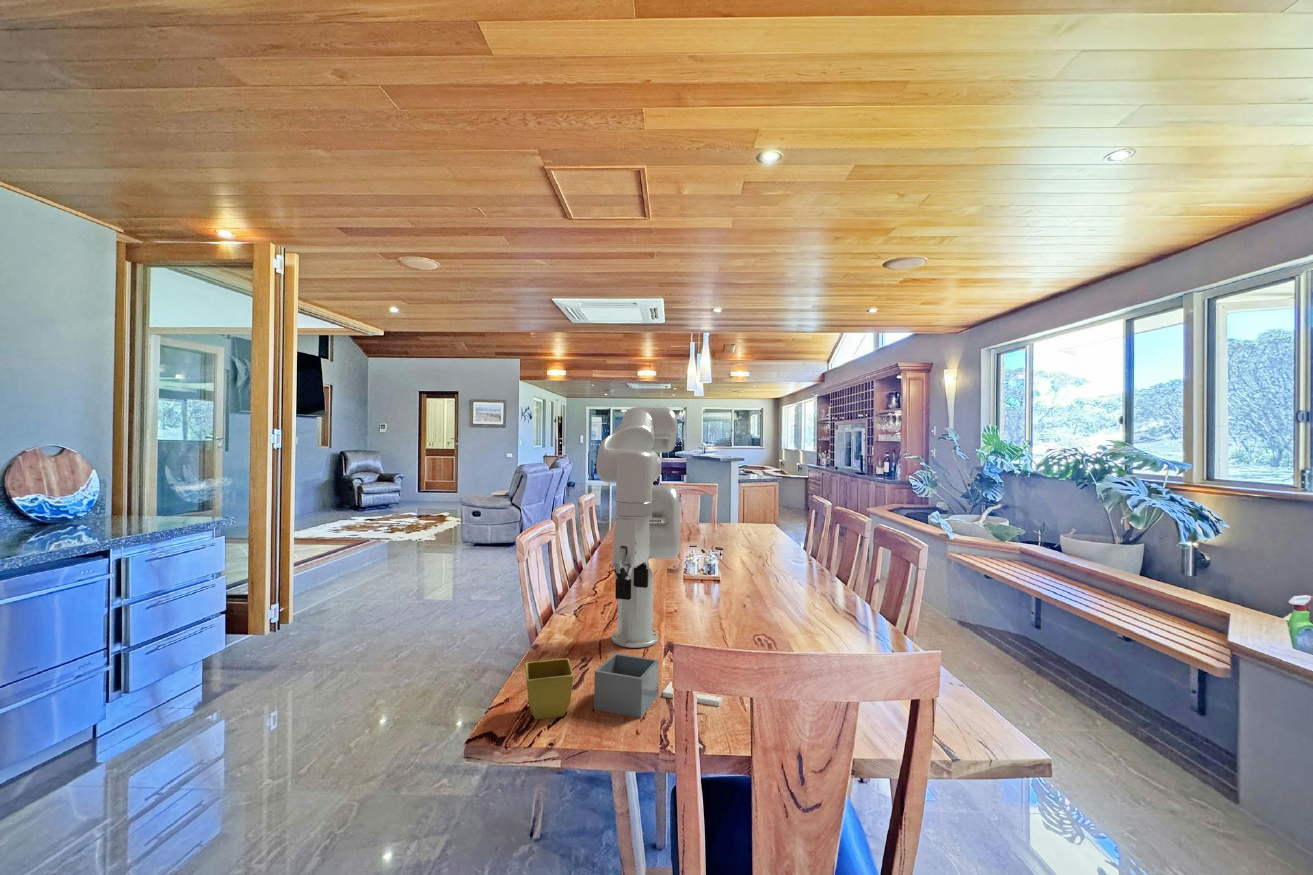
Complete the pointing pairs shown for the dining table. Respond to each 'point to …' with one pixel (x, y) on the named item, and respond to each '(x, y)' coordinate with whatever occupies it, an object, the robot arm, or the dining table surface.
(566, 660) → the flower pot
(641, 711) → the open box
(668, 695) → the lid
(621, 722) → the dining table surface
